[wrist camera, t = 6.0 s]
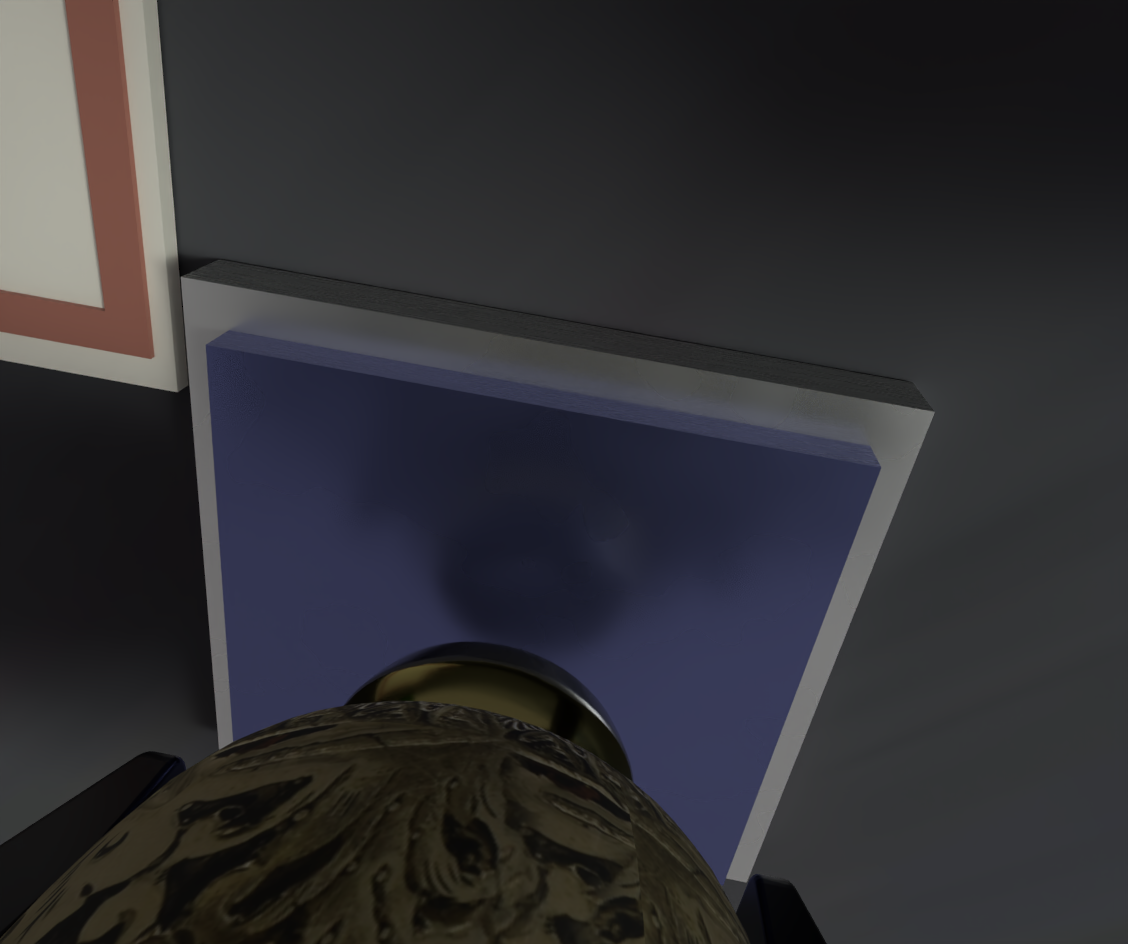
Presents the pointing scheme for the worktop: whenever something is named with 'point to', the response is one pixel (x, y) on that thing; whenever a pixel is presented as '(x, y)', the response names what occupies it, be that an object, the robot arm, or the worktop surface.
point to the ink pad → (537, 519)
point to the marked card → (87, 194)
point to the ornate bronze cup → (403, 828)
